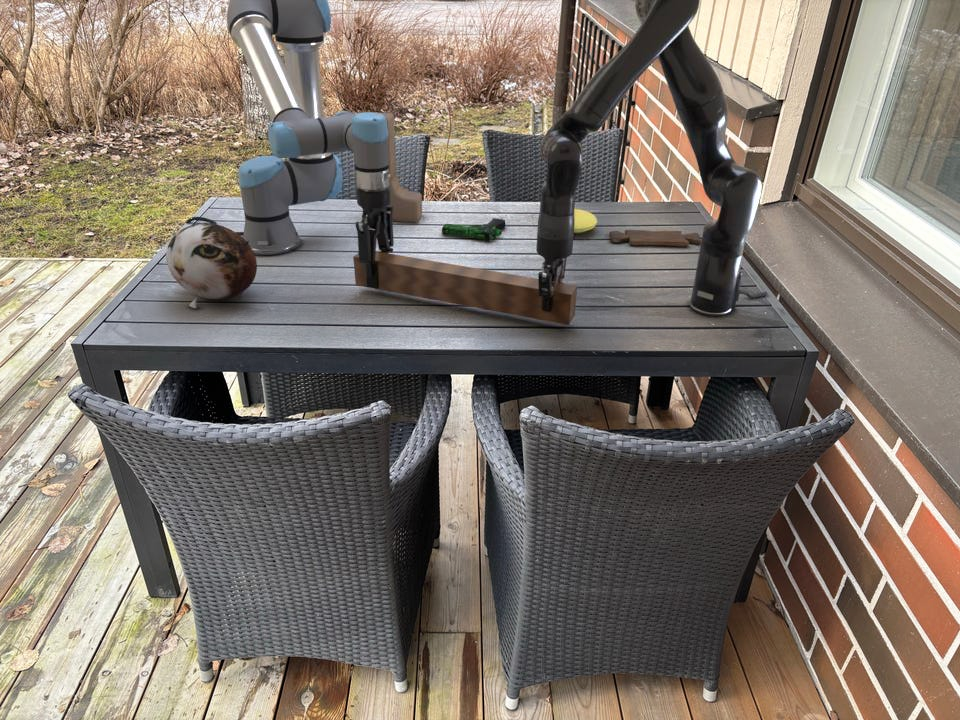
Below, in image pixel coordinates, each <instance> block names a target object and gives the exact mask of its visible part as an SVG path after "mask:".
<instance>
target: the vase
mask: <svg viewBox="0 0 960 720" xmlns="http://www.w3.org/2000/svg"><path fill="white" fill-rule="evenodd" d="M574 218H575V225H574V234H580V233H584V232H585V233H586V232H587V231H591V230H592V229H594V228H596V226H597V223H598V219H597V217H596V215H595V214H593V213H591V212H589V211H587V210H584V209H578V208H575V209H574Z"/></svg>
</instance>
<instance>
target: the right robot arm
mask: <svg viewBox="0 0 960 720" xmlns="http://www.w3.org/2000/svg"><path fill="white" fill-rule="evenodd" d="M700 2H701V0H634V8H635V12H636V16H637V19H638V21H639V22H640V26H639V28H638V29H637V31H636V32H635V33H634V34H633V36H632V37H631V39H630V40H629V41H628V42H627V43H626V44H625V45H624V46H623V47H622V48H621V49H620V50H619V51H618V52H617V53H616V54H615V55H613V57H612V58H610V59H609V60H608V61H607V62H606V63H604V64H603V65H602V66H601V67H600V68H599V69H598V70H597V71H596V72H595V73H594V74H593V75H592V77H590V79H588V82H587V83H586V84H585V86H584V87H583V89H582V90H581V91H580V93H579V94H578V96H577V97H576V99H575V100H574V102H573V103H572V105H571V106H570V107H569V109H567V110H566V111H565V112H564V113H563V114H562V115H561V116H560V117H559V118H558V119H557V120H556V121H555V122H554V123H553V125H551V126H550V127H549V129H548V130H547V131H546V133H545V134H544V136H543V138H542V139H541V143H540V146H539V151H540V157H541V158H542V160H543V161H544V162H545V164H547V166H546V167H547V168H546V169H547V171H546V179H545V182H543V184H542V186H541V190H540V200H539V202H540V203H539V213H538V218H537V230H536V231H537V232H536V247H535V248H536V249H535V250H536V253H537V254H538V255H539V256H540V257H542V258H543V259H544V261H543V262H542V264H541V268H540V269H541V271H539V272H538V274H537V276H538V277H537V279H538V283H539V296H542V308H541V309H542V311H546V312H551V311H552V305H553V295H554V288H555V286H557V284H558V282H560V283H563V280H564V279H565V274H566V266H567V259H568V258H569V257H571V255H572V254H573V250H574V249H573V247H574V236H575V233H574V225H575V218H574V209H576V197H577V196H576V194H577V193H576V192H577V188H578V185H579V182H580V178H581V173H582V169H583V163H584V152H583V147H582V145H581V142H582V141H583V140H584V139H585V138H586V137H587V136H588V135H589V134H590V133H596V132H597V131H599V130H600V129H601V128H602V127H603V126H604V124H605V123H606V121H607V120H608V119H609V117H610V116H611V115H612V114H613V112H614V110H615V109H616V108H617V107H618V105H619V104H620V102H621V101H622V99H623V98H624V97H625V96H626V94H627V93H628V92H629V90H630V89H631V88H632V87H633V85H634V84H635V83H636V82H637V81H638V80H639V78H640V77H641V76H642V75H643V74H644V73H645V72H646V70H647V69H648V68H650V67H651V65H652V64H653V63H654V62H655V61H656V60H657V59H658V61H659V63H660V67H661V69H662V72H663V75H664V78H665V81H666V84H667V86H668V87H667V88H668V89H669V92H670V95H671V97H672V101H673V104H674V106H675V110H676V111H677V115H678V117H679V119H680V123H681V124H682V126H683V129H684V131H685V133H686V137H687V139H688V142H689V145H690V148H691V149H692V151H693V154H694V157H695V159H696V163H697V167H698V171H699V176H700V179H701V182H702V183H701V184H702V187H703V190H704V193H705V195H706V198H708V200H709V201H710V202H712V203H713V204H715V205H716V206H719V207H720V210H719V214H718V216H717V219H712V220H709V221H708V222H706V223H705V224H704V226H703V230H702V236H701V240H700V247H699V253H698V259H697V263H696V269H695V274H694V281H693V285H692V291H691V296H690V300H689V308H691V309H692V310H693V311H694V312H696V313H697V314H701V315H704V316H710V317H722V316H726V315H729V314H731V312H735V309H736V304H737V303H738V302H739V299H740V295H745V296H747V297H748V298H750V299H756V298H760V297H763V296H767V295H768V292H767V291H762V292H759V293H756V294H751V293H750V292H748V291H745V290H741V289H740V287H741V282H742V278H743V273H742V271H740V269H741V264H742V258H743V254H744V250H745V245H746V241H747V237H748V234H750V231H751V230H752V228H753V225H754V223H755V220H756V215H757V212H758V208H759V205H760V202H761V197H762V193H763V192H762V191H763V182H762V178H761V176H760V175H759V174H758V173H757V172H756V171H754V170H752V169H750V168H747V167H746V166H743V165H741V164H738V162H737V161H736V160H735V159H734V157H733V155H732V152H731V150H730V148H729V145H728V141H727V135H726V133H727V127H728V122H729V105H728V100H727V97H726V95H725V92H724V89H723V86H722V83H721V80H720V78H719V76H718V74H717V72H716V71H715V69H714V67H713V66H712V64H711V62H710V61H709V59H708V58H707V57H706V55H705V54H704V52H703V51H702V50H701V48H700V47H699V45H698V43H697V42H696V41H695V39H694V36H693V34H692V32H691V29H690V26H689V25H690V24H691V23H692V22H693V20H694V19H695V17H696V15H697V13H698V10H699V7H700ZM551 281H554V282H551ZM545 289H547V290H545Z"/></svg>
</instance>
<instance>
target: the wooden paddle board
mask: <svg viewBox="0 0 960 720" xmlns="http://www.w3.org/2000/svg"><path fill="white" fill-rule="evenodd" d="M608 235H609V239H610V241H611V243H614V244H620V243H625V242H628V243H629V245H630V246H648V245H649V246H676V247H686V246H687V247H688V246H690V245H689V244H690V243H691V244H696V245H701V237H700V234H699V233H697V232H692V233H685V234H682V230H643V229H642V230H640V229H624V232H621V231H619V230H611V231H609V233H608Z"/></svg>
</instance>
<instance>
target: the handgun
mask: <svg viewBox="0 0 960 720" xmlns="http://www.w3.org/2000/svg"><path fill="white" fill-rule="evenodd" d="M505 228H506V220H505V219H503V218H497V217H492V219H491V220H490V221H489V222H488V223H483V224H482V225H479V224H472V225H459V224H453V223H445V224H443V226H442V227H441V235H446V236H454V237H462V238H469V239H470V238H471V239H474V240H479V241H484V242H491V241H492V240H494V239H495V238H497V237H500V236H502V230H504V229H505Z"/></svg>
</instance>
